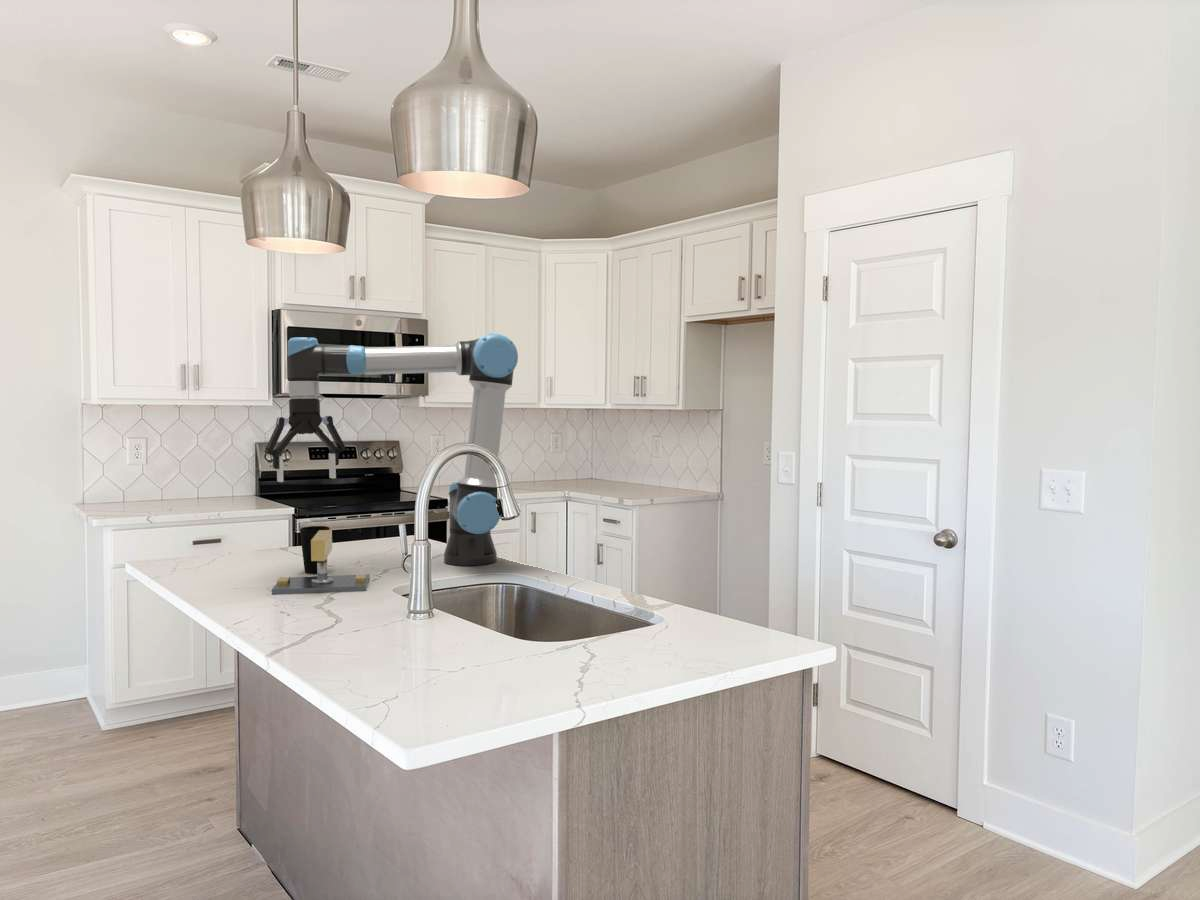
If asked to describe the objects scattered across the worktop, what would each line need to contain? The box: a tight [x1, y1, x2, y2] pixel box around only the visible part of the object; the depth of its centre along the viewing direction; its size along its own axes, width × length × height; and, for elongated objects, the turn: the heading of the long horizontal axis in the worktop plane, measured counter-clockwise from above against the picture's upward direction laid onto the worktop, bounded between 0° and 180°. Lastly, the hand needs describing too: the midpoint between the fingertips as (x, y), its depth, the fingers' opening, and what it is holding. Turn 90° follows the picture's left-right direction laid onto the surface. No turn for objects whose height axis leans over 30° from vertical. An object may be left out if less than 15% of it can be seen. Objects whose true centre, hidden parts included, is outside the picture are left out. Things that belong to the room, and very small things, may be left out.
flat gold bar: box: [311, 529, 333, 562], centre depth 220 cm, size 3×16×7 cm, turn 11°
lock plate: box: [271, 561, 371, 595], centre depth 221 cm, size 22×14×6 cm, turn 101°
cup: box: [299, 525, 331, 575], centre depth 238 cm, size 8×8×12 cm
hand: (307, 480), depth 228 cm, fingers open, 13 cm apart
